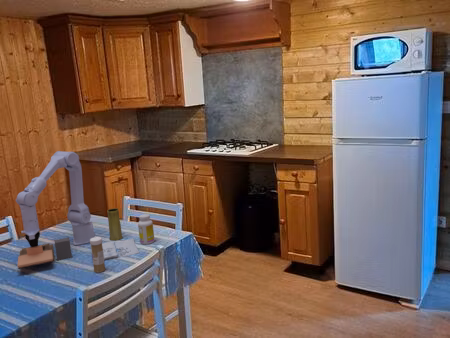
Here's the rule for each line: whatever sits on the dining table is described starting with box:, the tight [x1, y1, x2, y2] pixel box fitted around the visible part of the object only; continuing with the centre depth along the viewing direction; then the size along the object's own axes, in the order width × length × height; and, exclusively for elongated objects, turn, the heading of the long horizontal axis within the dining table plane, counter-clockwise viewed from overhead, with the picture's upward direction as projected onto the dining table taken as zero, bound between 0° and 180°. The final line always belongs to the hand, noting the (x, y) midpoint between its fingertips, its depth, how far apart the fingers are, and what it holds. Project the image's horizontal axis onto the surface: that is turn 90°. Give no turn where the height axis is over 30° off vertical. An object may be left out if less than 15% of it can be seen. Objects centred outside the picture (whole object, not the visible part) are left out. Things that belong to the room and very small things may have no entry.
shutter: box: [16, 244, 54, 269], centre depth 174 cm, size 13×11×4 cm
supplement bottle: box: [137, 213, 155, 245], centre depth 194 cm, size 7×7×13 cm
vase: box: [106, 207, 124, 242], centre depth 201 cm, size 6×6×14 cm
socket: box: [18, 243, 55, 269], centre depth 186 cm, size 14×20×3 cm
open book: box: [90, 238, 140, 261], centre depth 188 cm, size 19×20×2 cm
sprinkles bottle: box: [89, 236, 106, 274], centre depth 167 cm, size 5×5×14 cm
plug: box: [53, 237, 73, 262], centre depth 183 cm, size 6×4×8 cm, turn 114°
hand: (35, 250), depth 180 cm, fingers closed
